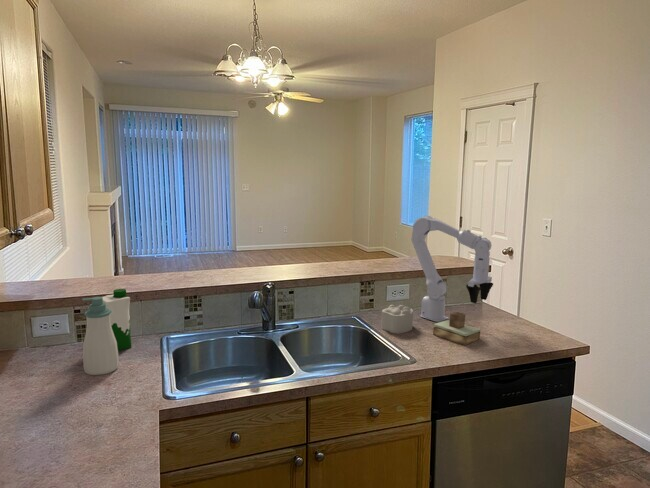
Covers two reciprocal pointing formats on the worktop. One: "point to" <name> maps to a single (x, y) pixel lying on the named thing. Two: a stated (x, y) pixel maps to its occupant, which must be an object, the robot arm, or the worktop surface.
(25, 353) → the worktop surface
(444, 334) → the box
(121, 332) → the milk carton
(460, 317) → the walnut block
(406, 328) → the lumpy-topped squat cylinder
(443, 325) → the lid
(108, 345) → the soap bottle
